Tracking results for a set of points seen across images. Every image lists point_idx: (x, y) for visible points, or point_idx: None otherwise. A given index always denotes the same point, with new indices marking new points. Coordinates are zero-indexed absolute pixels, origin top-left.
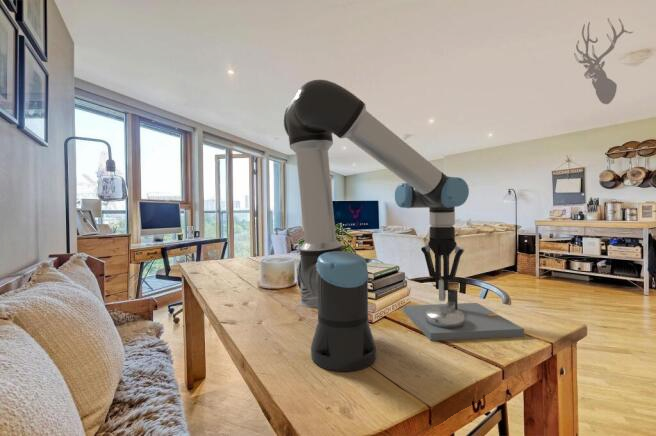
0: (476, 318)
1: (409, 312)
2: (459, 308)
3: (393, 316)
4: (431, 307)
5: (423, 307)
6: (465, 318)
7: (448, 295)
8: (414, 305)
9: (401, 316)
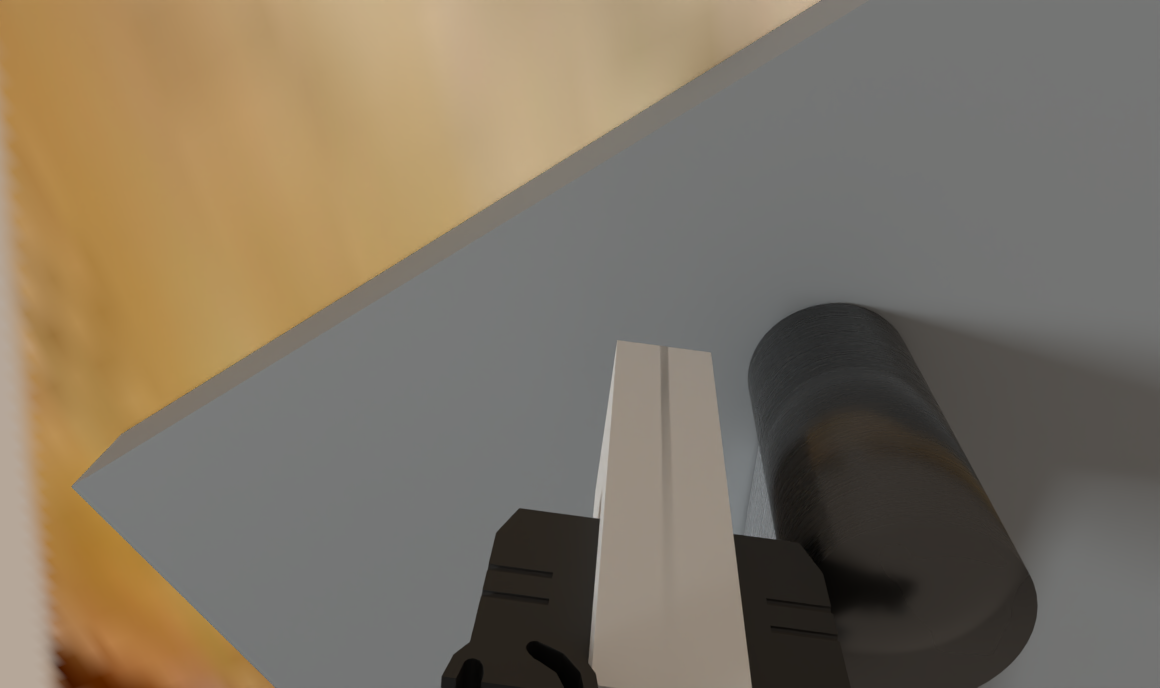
0: (1153, 622)
1: (268, 671)
2: (949, 284)
3: (107, 619)
4: (482, 412)
5: (368, 453)
6: None
7: None
8: (208, 415)
9: None
